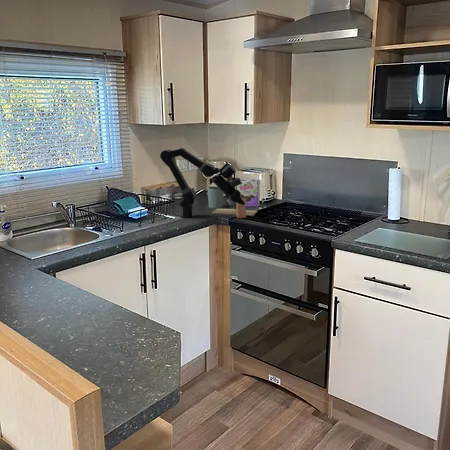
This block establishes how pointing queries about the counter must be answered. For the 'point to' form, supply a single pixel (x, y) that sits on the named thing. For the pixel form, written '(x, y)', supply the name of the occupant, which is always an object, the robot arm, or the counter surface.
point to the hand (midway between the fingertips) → (242, 203)
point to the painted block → (241, 209)
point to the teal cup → (215, 197)
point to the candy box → (250, 191)
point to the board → (233, 211)
